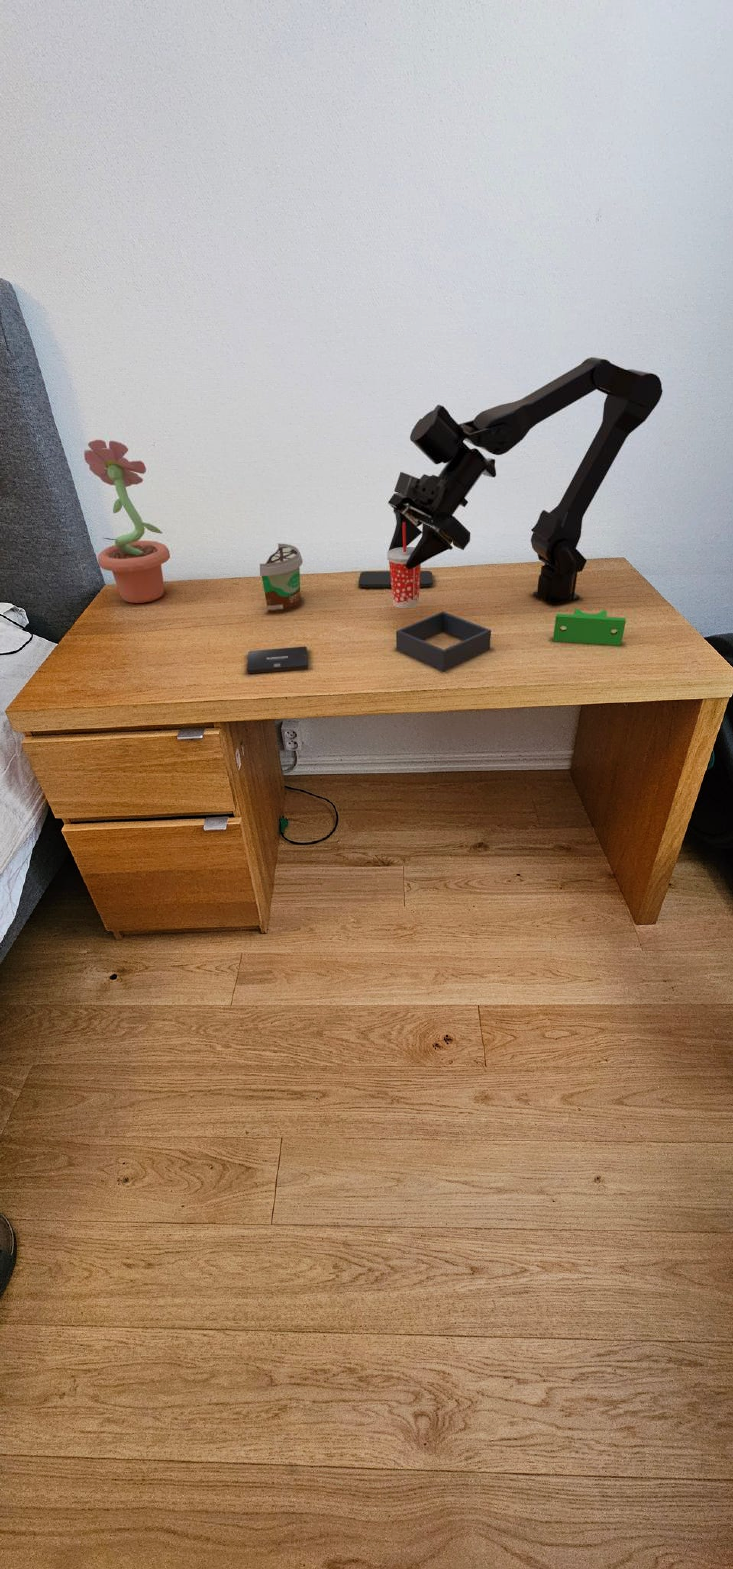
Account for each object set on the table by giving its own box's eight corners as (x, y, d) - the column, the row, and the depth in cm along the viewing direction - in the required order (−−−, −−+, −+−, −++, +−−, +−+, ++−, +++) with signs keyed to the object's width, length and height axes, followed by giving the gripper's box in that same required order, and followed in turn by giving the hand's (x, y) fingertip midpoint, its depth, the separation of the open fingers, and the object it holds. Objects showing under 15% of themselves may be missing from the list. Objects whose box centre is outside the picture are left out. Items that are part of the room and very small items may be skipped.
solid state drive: (308, 668, 115) (307, 664, 114) (247, 673, 114) (246, 670, 114) (307, 649, 120) (306, 646, 120) (248, 654, 120) (248, 650, 119)
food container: (296, 617, 131) (291, 565, 125) (265, 616, 133) (258, 564, 127) (313, 592, 141) (309, 543, 135) (284, 591, 142) (278, 542, 136)
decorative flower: (193, 585, 147) (161, 428, 129) (167, 611, 137) (128, 445, 119) (128, 583, 150) (88, 429, 132) (97, 609, 139) (49, 446, 121)
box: (442, 629, 125) (442, 611, 122) (489, 649, 118) (491, 630, 115) (396, 649, 119) (395, 630, 117) (443, 671, 112) (443, 652, 110)
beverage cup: (411, 593, 127) (409, 514, 118) (430, 604, 123) (429, 523, 114) (382, 601, 125) (378, 522, 116) (400, 613, 120) (398, 531, 112)
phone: (432, 583, 140) (358, 584, 141) (432, 587, 140) (358, 588, 141) (432, 570, 146) (360, 571, 147) (432, 574, 146) (360, 575, 147)
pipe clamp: (620, 636, 119) (625, 611, 117) (620, 646, 116) (626, 620, 114) (553, 631, 122) (556, 606, 119) (552, 641, 119) (555, 615, 116)
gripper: (396, 441, 117) (342, 521, 120) (456, 462, 103) (393, 551, 106) (436, 483, 124) (384, 557, 127) (497, 507, 111) (437, 589, 114)
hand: (397, 562), depth 119 cm, fingers closed on beverage cup, 6 cm apart
